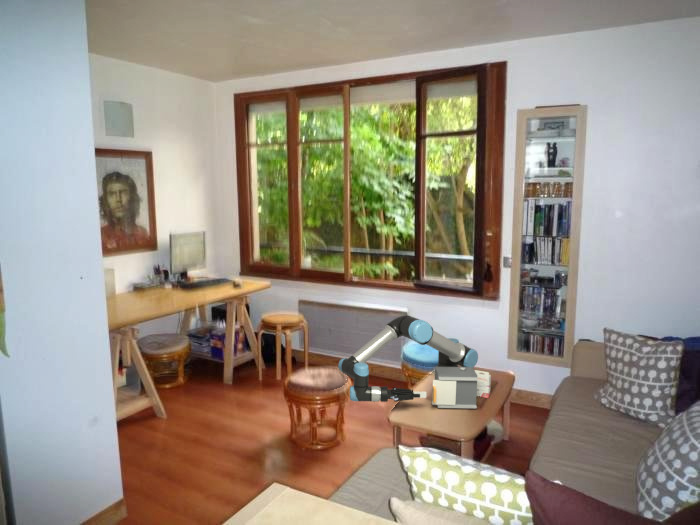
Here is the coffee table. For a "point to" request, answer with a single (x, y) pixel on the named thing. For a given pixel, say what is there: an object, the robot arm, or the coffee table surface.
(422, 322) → the robot arm
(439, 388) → the white boxy piece
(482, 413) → the coffee table surface
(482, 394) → the ink cartridge box
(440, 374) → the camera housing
